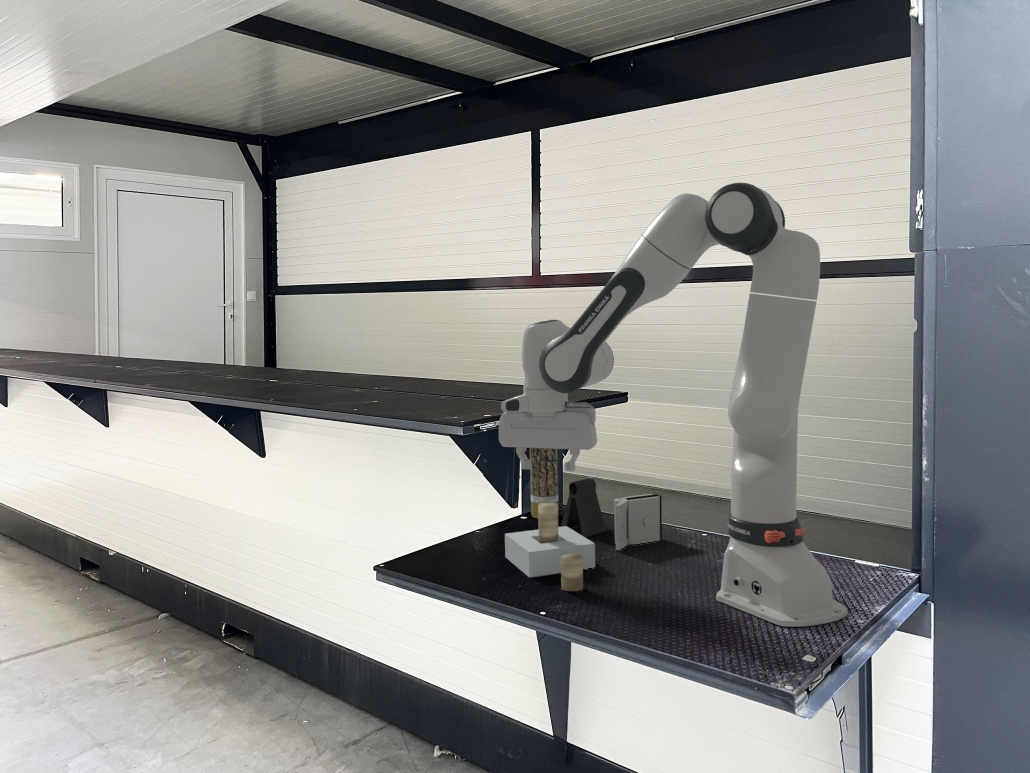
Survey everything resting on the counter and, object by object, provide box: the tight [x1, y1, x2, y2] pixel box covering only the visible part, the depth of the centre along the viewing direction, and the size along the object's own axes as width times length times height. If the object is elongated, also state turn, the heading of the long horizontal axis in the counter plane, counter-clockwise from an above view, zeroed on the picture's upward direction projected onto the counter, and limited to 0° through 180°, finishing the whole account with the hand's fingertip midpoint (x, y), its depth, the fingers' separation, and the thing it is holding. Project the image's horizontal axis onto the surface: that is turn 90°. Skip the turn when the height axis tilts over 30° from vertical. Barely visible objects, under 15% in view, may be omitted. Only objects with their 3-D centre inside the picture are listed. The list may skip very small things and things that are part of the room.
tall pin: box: [537, 502, 559, 544], centre depth 163 cm, size 4×4×12 cm
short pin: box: [560, 554, 584, 592], centre depth 148 cm, size 4×4×6 cm
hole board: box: [504, 526, 596, 578], centre depth 163 cm, size 14×14×5 cm
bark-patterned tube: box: [529, 448, 559, 520], centre depth 198 cm, size 7×7×25 cm
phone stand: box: [560, 477, 607, 539], centre depth 185 cm, size 9×6×12 cm, turn 40°
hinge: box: [613, 493, 663, 551], centre depth 175 cm, size 14×5×10 cm, turn 125°
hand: (548, 469), depth 162 cm, fingers open, 8 cm apart
